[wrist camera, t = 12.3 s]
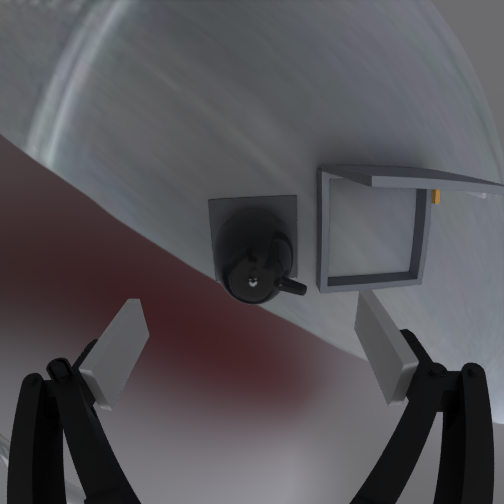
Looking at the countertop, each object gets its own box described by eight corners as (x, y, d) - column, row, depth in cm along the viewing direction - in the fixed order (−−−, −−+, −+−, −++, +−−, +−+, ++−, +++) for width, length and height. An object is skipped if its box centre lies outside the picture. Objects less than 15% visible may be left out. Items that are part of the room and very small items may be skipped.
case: (316, 163, 38) (371, 175, 19) (429, 168, 37) (523, 189, 18) (316, 284, 43) (351, 373, 25) (419, 276, 43) (488, 343, 24)
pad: (208, 199, 40) (208, 200, 39) (296, 195, 39) (296, 195, 39) (216, 279, 43) (216, 280, 43) (296, 276, 43) (297, 277, 43)
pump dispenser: (284, 278, 43) (295, 340, 28) (214, 267, 42) (193, 324, 28) (299, 211, 39) (322, 246, 25) (224, 198, 39) (204, 225, 25)
